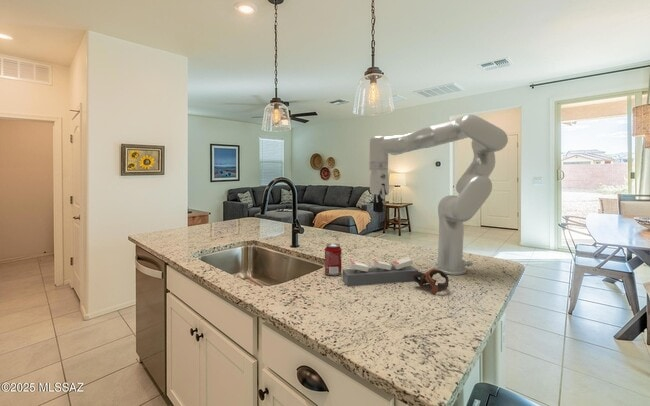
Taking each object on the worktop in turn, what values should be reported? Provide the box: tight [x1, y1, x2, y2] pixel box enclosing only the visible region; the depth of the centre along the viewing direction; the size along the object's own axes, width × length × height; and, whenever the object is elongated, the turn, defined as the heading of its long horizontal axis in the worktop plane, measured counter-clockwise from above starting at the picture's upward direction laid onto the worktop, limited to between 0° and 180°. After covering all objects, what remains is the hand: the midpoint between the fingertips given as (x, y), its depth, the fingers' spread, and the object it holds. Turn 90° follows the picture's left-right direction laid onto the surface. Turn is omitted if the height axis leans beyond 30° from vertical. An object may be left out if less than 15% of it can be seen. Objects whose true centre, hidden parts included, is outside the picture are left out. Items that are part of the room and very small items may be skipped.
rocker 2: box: [369, 258, 392, 270], centre depth 115 cm, size 7×4×2 cm, turn 102°
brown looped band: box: [413, 268, 450, 295], centre depth 106 cm, size 12×10×8 cm
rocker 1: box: [347, 260, 370, 272], centre depth 113 cm, size 7×4×2 cm, turn 102°
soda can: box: [324, 242, 342, 277], centre depth 123 cm, size 7×7×12 cm
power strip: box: [342, 265, 419, 287], centre depth 116 cm, size 35×7×5 cm, turn 101°
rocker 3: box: [390, 256, 414, 270], centre depth 117 cm, size 7×4×2 cm, turn 100°
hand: (377, 211), depth 125 cm, fingers closed
